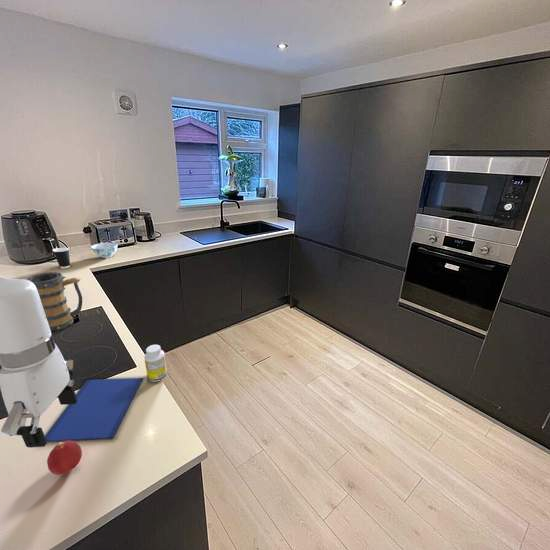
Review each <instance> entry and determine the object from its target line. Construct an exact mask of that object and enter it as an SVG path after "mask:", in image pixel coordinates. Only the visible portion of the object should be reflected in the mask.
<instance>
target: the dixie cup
mask: <svg viewBox="0 0 550 550" xmlns="http://www.w3.org/2000/svg"><path fill="white" fill-rule="evenodd" d="M52 253H53V255H54V257H55V259H56V262H57V264H58V266H59V268H60V269H67V268H71V259H70V248H69V247H58V248H53V249H52Z"/></svg>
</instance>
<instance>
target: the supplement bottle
mask: <svg viewBox="0 0 550 550" xmlns="http://www.w3.org/2000/svg"><path fill="white" fill-rule="evenodd" d="M145 352H146V353H145V355H144V357H143V359H144V364H145V370H146V374H147V375H146V376H147V379H148V380H149V381H150V382H161V381H162V380H164V379H165V378H166V377H167V375H168V370H167V362H166V356H165V355H166V353H165V351H164V350H162V348H161V345H159V344H151V345H148V347H146V349H145ZM160 379H161V380H160Z"/></svg>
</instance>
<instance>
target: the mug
mask: <svg viewBox="0 0 550 550" xmlns="http://www.w3.org/2000/svg"><path fill="white" fill-rule="evenodd" d="M66 278H67V276H64V275H63V274H62V273H61V272H56V271H53V272H52V271H51V272H43V273H38V274H37V273H36V274H34V275H31V276H29V277H27V279H26V280H29V281H31V282H32V283H33V284H34V285H35V286H36V288H37V291H38V294H39V297H40V300H41V303H42V306H43V309H44V312H45V315H46V318H47V321H48V324H49V327H50V331H51V332H55V331H61V330H63V329H66V328H68V327H70V326H71V325H72V324H73V323H74V320H76V319H77V316H76V315H78V314H79V313H80V312H81V311H82V307H83V295H82V292H81V290H80V287H79V282H80V281H81V280H82V279H81V278H79V277H72V278H67V279H66ZM64 279H65V280H64ZM72 284H73V287H74V289H75V291H76V293H77V296H78V303H77V306H76V309H74V310H72V309H71V308H70V307H68V304H67V301H68V300H67V297H66V296H65V292H64V291H65V290H66V286H68V285H72ZM74 317H75V318H74Z"/></svg>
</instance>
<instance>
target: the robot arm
mask: <svg viewBox="0 0 550 550" xmlns="http://www.w3.org/2000/svg"><path fill="white" fill-rule="evenodd" d="M53 337H54V336H53V334H52V331H50V327H49V324H48V321H47V318H46V315H45V312H44V309H43V306H42V303H41V300H40V297H39V294H38V291H37V288H36V286H35V285H34V284H33V283H32V282H31V281H29V280H27V279H25V278H12V279H11V278H8V277H6V276H3V275H0V366H1V368H0V392H1V397H2V399H3V403H4V406H5V408H6V411H7V414H8V415H7V417H6V419H5V421H4V423H3V425H2V427H1V430H0V431H1V433H2V434H5V435H9V436H10V437H13V436H17V437H18V436H21V438H22V441H23V443H24V445H25V447H26V448H43V447H45V446H46V445H47V444H48V441H47V440H46V438H45V435H46V434H45V433H44V431H43V428H42V427H39V425H40V424H39V423H40V418H41V416H42V415H43V414H44V413H45V412H46V411H47V410H48V409H49V407H50V406H51V405H52V404H53V403H54V402H55V400H57V399H58V402H59V405H61V406H64V405H65V406H68V405H69V404H76V403H77V401H78V400H77V397H76V394H77V393H76V391H75V388H74V385H75V380H73V378H74V374H75V371H74V370H73V369H74V360H73V359H64V356H63V354H62V352H61V350H60V349H59V347H58V345H57V344H56V343H55V340H54V338H53ZM29 418H31V420H30V424H29V425H26V422H27V419H29Z"/></svg>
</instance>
